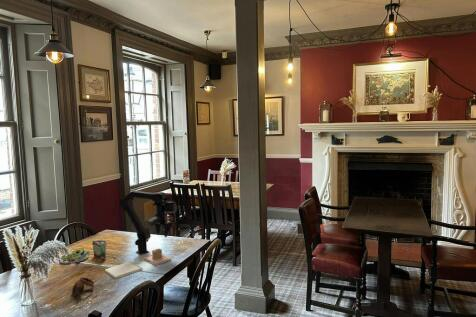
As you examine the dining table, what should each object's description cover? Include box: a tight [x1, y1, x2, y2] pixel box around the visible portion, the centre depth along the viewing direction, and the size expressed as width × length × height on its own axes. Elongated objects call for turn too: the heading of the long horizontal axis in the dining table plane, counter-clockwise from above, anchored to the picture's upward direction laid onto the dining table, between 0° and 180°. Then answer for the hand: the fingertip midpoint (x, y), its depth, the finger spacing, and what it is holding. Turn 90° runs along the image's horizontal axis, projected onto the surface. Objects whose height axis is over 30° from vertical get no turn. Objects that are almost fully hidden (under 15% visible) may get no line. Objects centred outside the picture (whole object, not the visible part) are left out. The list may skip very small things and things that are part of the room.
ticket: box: [104, 261, 143, 280], centre depth 197 cm, size 14×16×1 cm
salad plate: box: [59, 247, 91, 265], centre depth 217 cm, size 19×18×5 cm
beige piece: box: [143, 248, 172, 266], centre depth 212 cm, size 14×11×6 cm
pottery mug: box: [71, 277, 95, 297], centre depth 171 cm, size 12×10×8 cm
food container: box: [91, 239, 108, 261], centre depth 219 cm, size 12×6×10 cm, turn 47°
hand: (161, 235), depth 222 cm, fingers open, 9 cm apart
